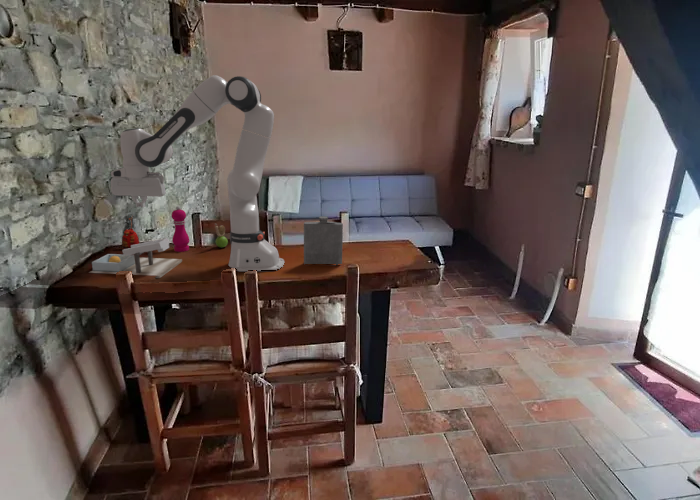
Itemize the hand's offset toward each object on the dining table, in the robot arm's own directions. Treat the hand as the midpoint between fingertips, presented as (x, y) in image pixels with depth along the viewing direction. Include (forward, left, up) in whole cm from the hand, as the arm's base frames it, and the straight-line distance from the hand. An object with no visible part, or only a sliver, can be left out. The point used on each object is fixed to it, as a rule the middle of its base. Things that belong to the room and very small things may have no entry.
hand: (140, 207), depth 176 cm
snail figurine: (-22, -25, -23) cm, 41 cm away
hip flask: (-71, -8, -23) cm, 76 cm away
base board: (0, +7, -23) cm, 24 cm away
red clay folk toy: (+16, -17, -23) cm, 33 cm away
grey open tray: (+8, +10, -22) cm, 25 cm away
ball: (+7, +10, -19) cm, 23 cm away
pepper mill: (-6, -19, -23) cm, 31 cm away
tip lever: (-6, +5, -16) cm, 18 cm away
